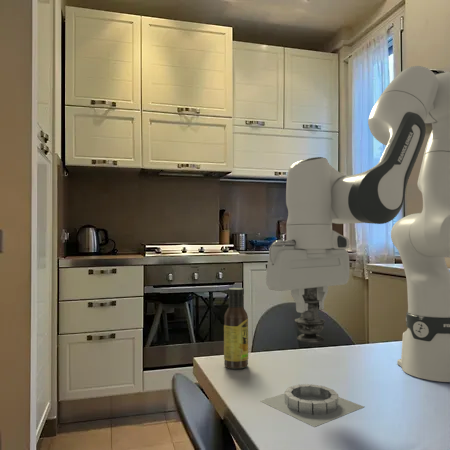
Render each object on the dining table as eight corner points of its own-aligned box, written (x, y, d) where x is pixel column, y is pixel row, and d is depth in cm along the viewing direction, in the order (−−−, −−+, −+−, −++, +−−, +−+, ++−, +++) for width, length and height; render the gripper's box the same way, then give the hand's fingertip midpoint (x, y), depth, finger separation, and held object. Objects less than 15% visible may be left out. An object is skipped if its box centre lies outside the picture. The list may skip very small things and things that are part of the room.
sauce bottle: (247, 370, 101) (247, 290, 102) (222, 370, 101) (222, 289, 102) (249, 363, 107) (248, 287, 108) (225, 362, 108) (224, 287, 109)
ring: (309, 390, 85) (309, 381, 86) (348, 405, 77) (348, 395, 78) (274, 401, 80) (274, 391, 80) (313, 419, 72) (313, 408, 72)
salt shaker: (326, 343, 76) (325, 278, 76) (294, 341, 77) (293, 278, 77) (325, 336, 81) (324, 275, 82) (295, 334, 83) (294, 275, 83)
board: (309, 388, 88) (309, 385, 88) (364, 409, 77) (364, 406, 77) (260, 404, 80) (260, 400, 80) (314, 430, 69) (314, 426, 69)
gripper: (282, 240, 71) (282, 319, 71) (354, 239, 83) (355, 307, 83) (258, 240, 76) (259, 314, 76) (330, 239, 88) (331, 304, 88)
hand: (310, 310), depth 79 cm, fingers closed on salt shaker, 3 cm apart
